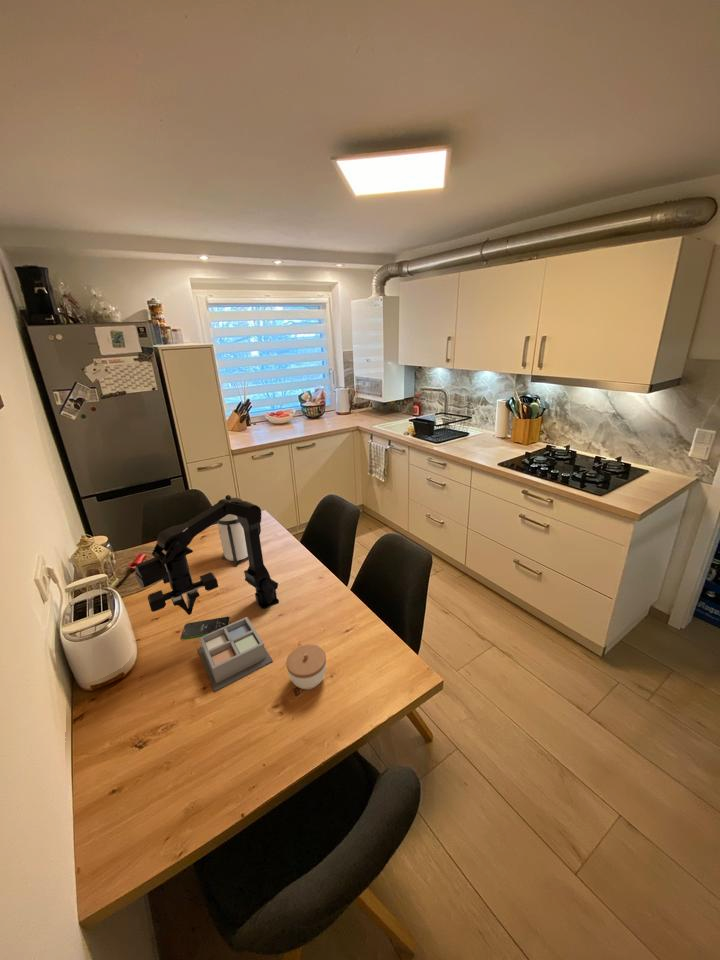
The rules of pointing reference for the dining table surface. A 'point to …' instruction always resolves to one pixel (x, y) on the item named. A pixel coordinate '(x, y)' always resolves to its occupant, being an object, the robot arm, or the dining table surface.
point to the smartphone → (203, 627)
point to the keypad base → (241, 661)
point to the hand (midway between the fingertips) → (189, 613)
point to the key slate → (238, 631)
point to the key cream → (216, 642)
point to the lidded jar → (306, 666)
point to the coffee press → (233, 536)
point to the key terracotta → (222, 656)
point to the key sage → (246, 643)
